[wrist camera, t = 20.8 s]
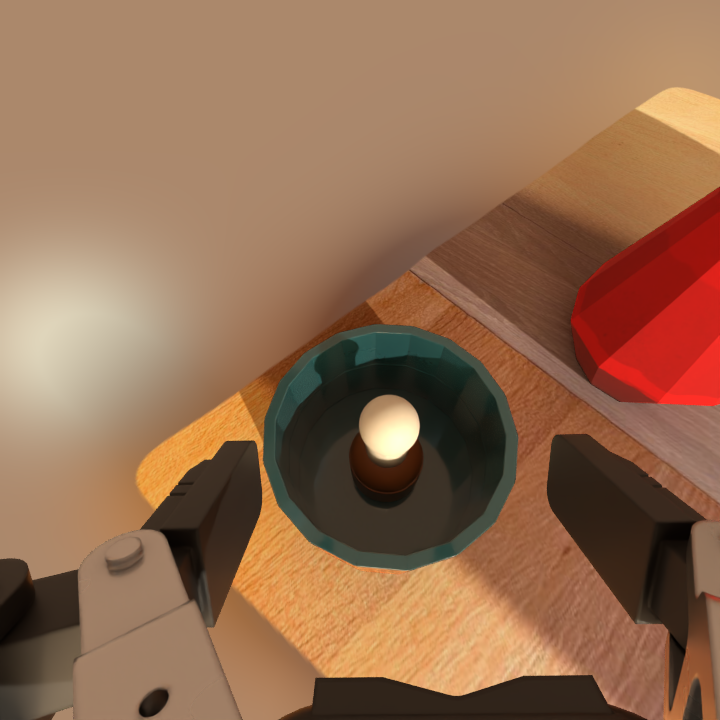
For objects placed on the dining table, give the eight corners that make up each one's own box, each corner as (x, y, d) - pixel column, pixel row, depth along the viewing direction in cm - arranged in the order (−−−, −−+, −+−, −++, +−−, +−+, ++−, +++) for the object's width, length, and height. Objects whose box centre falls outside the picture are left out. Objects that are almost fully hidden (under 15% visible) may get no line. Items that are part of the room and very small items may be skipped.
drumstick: (386, 518, 28) (393, 485, 18) (337, 467, 30) (320, 414, 20) (433, 466, 29) (460, 412, 20) (383, 421, 31) (387, 353, 22)
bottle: (628, 471, 29) (996, 310, 12) (508, 342, 35) (638, 111, 18) (759, 377, 33) (1190, 147, 16) (630, 274, 39) (837, 26, 22)
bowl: (391, 627, 25) (399, 647, 17) (253, 468, 30) (212, 428, 22) (518, 466, 30) (569, 425, 22) (379, 354, 35) (381, 288, 27)
